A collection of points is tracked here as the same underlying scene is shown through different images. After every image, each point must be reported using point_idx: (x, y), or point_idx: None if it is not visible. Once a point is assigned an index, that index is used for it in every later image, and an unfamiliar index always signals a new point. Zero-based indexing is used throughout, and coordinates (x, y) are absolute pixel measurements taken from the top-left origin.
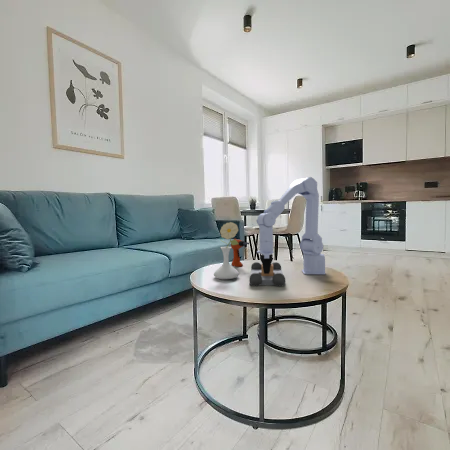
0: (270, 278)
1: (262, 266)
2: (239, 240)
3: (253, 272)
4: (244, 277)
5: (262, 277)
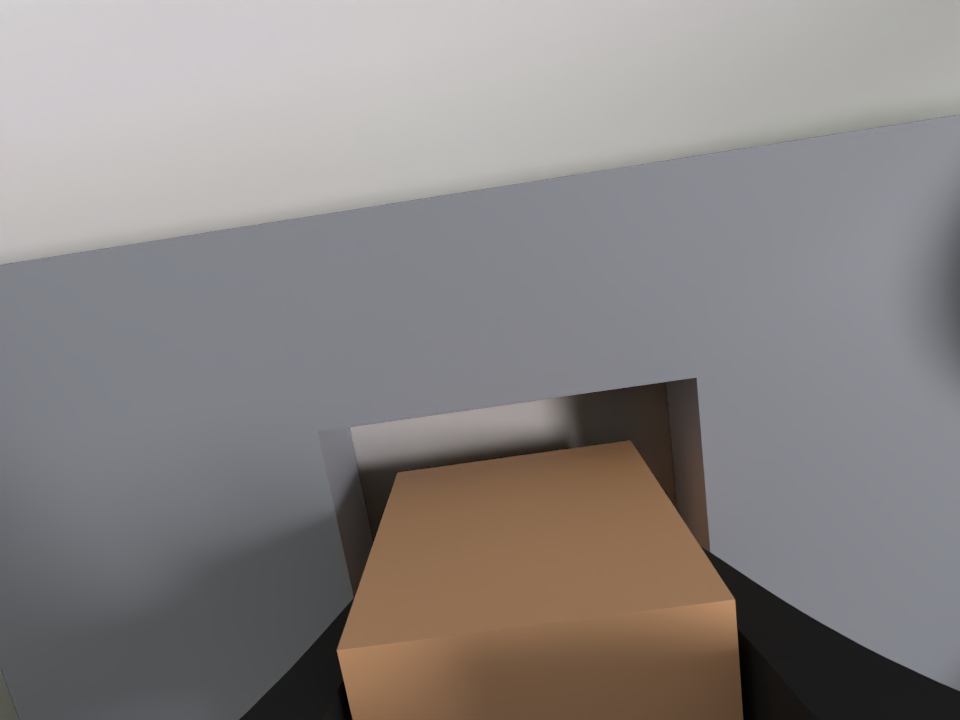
0: (158, 706)
1: (345, 673)
2: None
3: (671, 242)
4: (562, 17)
5: (193, 541)
